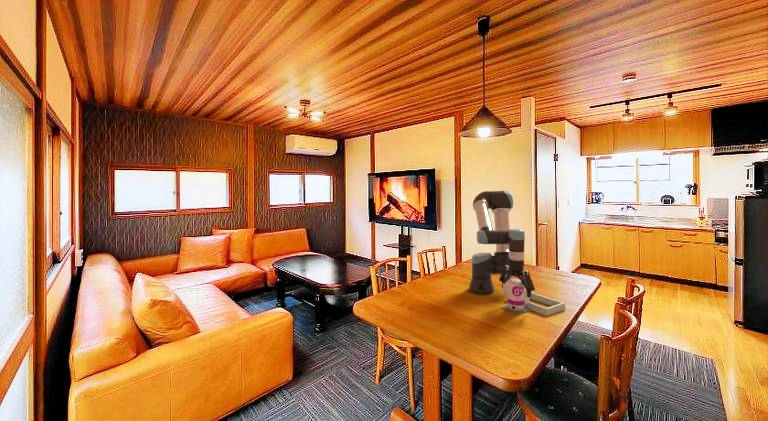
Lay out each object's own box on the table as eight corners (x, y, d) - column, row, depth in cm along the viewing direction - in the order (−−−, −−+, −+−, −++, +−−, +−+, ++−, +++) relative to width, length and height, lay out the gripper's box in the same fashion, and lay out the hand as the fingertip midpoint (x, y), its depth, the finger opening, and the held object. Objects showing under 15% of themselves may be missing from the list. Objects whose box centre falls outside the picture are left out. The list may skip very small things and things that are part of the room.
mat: (501, 308, 162) (501, 307, 162) (514, 304, 166) (514, 303, 166) (517, 314, 153) (517, 313, 153) (530, 310, 157) (530, 309, 157)
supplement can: (526, 312, 155) (526, 283, 154) (508, 311, 156) (509, 282, 155) (522, 305, 163) (522, 278, 162) (505, 305, 164) (506, 277, 163)
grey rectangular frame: (507, 300, 172) (507, 294, 172) (524, 295, 179) (524, 290, 179) (546, 315, 151) (546, 309, 151) (565, 309, 158) (565, 303, 158)
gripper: (492, 255, 167) (492, 293, 168) (533, 265, 145) (532, 308, 146) (502, 253, 170) (501, 290, 172) (543, 263, 148) (542, 305, 150)
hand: (515, 298), depth 159 cm, fingers open, 13 cm apart
